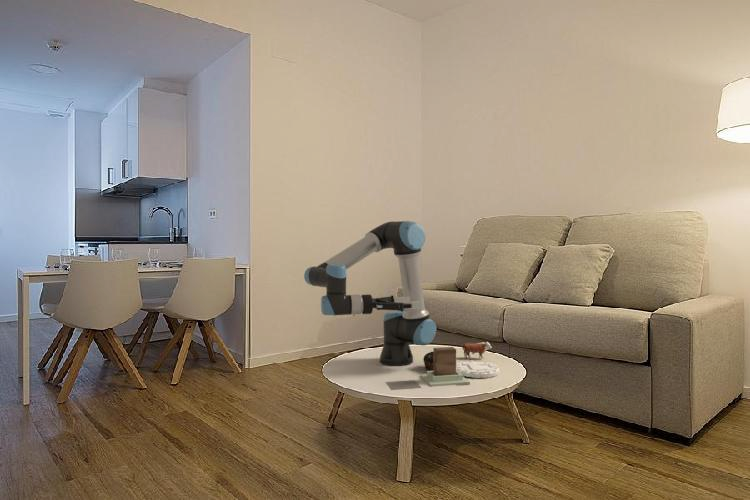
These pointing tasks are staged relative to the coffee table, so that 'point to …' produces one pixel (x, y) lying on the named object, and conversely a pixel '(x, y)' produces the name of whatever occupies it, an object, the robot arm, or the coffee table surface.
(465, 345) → the bull figurine
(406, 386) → the mat
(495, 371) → the white textured flat disc
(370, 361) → the coffee table surface
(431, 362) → the decorative turtle
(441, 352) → the brown wooden block
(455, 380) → the tray
